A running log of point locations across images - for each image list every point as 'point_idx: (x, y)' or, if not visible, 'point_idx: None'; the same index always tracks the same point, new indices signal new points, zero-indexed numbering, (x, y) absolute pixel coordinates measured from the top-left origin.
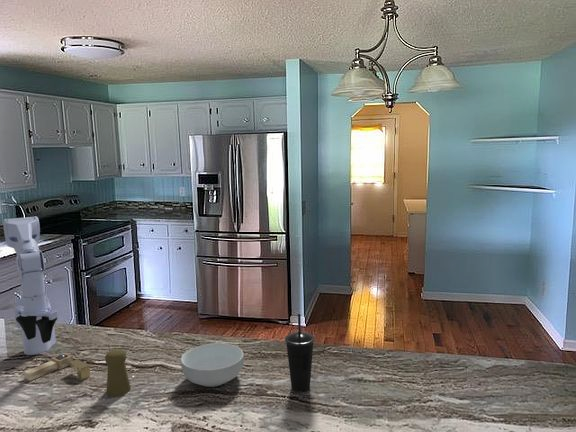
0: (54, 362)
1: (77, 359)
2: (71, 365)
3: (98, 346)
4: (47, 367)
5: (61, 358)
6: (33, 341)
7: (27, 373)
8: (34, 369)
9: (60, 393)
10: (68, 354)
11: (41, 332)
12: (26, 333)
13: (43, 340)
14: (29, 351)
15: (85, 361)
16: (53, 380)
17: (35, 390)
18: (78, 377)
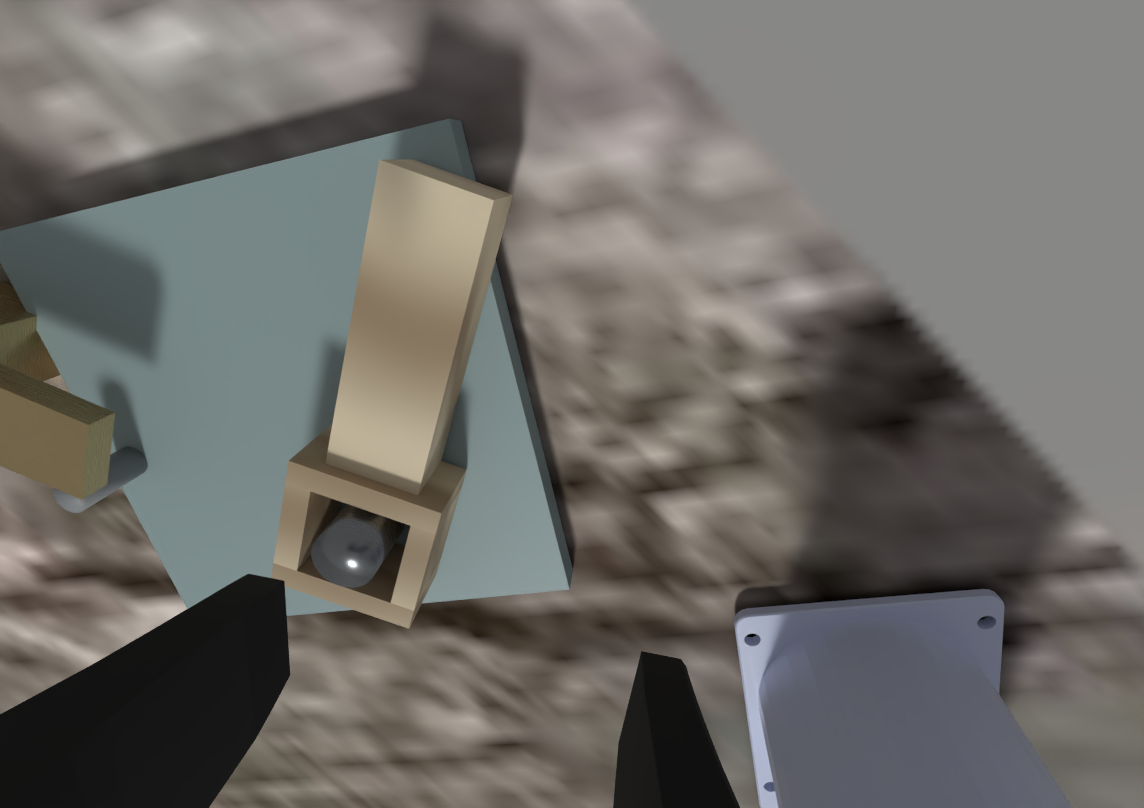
0: (351, 456)
1: (72, 492)
2: (54, 394)
3: (429, 794)
4: (347, 364)
5: (329, 524)
6: (868, 763)
7: (413, 171)
8: (421, 279)
9: (11, 85)
10: (336, 600)
11: (18, 738)
12: (661, 763)
13: (206, 599)
14: (885, 655)
15: (67, 507)
16: None
17: (279, 73)
18: (16, 314)
